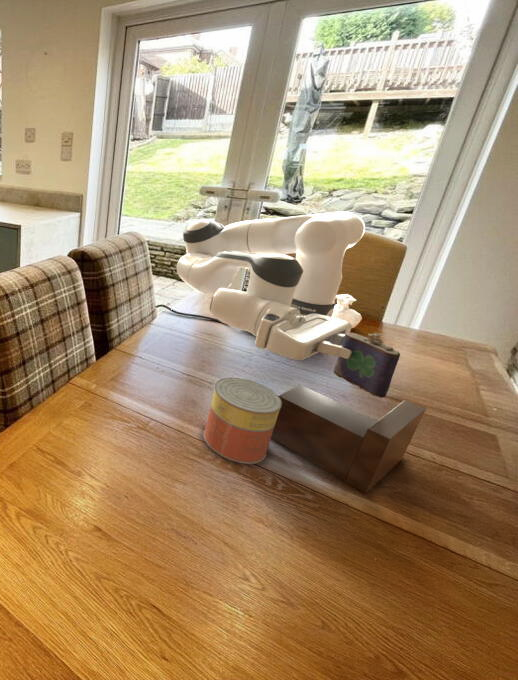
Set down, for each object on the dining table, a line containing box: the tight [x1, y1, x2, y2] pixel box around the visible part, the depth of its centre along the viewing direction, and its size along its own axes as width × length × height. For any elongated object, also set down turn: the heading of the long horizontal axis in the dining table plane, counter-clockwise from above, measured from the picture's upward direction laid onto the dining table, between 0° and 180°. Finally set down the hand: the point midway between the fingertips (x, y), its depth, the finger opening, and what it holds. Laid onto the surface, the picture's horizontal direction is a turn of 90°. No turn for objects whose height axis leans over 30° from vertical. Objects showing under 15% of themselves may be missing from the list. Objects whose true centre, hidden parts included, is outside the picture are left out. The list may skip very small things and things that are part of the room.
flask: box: [333, 332, 401, 399], centre depth 73 cm, size 9×3×11 cm, turn 12°
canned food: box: [203, 377, 282, 465], centre depth 78 cm, size 11×11×12 cm
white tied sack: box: [332, 293, 363, 329], centre depth 132 cm, size 12×8×11 cm
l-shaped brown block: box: [270, 384, 427, 494], centre depth 77 cm, size 17×16×12 cm
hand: (356, 352), depth 75 cm, fingers closed on flask, 3 cm apart
